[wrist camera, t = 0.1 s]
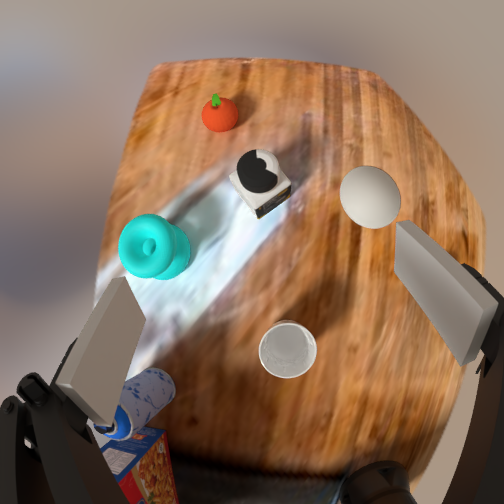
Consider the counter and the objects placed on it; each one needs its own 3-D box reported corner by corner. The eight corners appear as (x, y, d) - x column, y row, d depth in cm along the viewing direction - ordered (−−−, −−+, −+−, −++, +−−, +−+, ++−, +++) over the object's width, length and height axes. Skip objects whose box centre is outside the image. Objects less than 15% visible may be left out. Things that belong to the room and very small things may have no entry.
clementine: (203, 111, 54) (194, 91, 47) (236, 103, 54) (230, 82, 47) (208, 142, 53) (199, 123, 46) (243, 133, 53) (238, 113, 46)
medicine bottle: (258, 220, 50) (251, 199, 38) (234, 189, 51) (222, 162, 39) (290, 197, 50) (293, 170, 38) (266, 167, 51) (262, 135, 39)
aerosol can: (138, 399, 48) (81, 440, 28) (138, 363, 49) (74, 393, 29) (175, 408, 47) (127, 459, 27) (176, 371, 48) (123, 410, 28)
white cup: (300, 309, 48) (306, 314, 38) (315, 351, 46) (324, 366, 37) (256, 325, 48) (250, 334, 38) (271, 367, 47) (269, 385, 37)
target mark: (411, 202, 48) (411, 202, 48) (370, 242, 48) (371, 242, 48) (369, 155, 50) (369, 154, 50) (326, 191, 50) (326, 190, 50)
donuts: (113, 219, 42) (169, 205, 42) (140, 231, 52) (189, 220, 51) (118, 281, 41) (176, 272, 40) (145, 283, 51) (196, 275, 50)
